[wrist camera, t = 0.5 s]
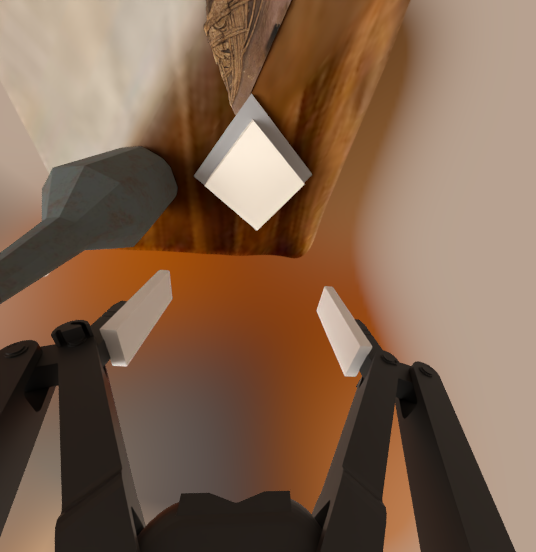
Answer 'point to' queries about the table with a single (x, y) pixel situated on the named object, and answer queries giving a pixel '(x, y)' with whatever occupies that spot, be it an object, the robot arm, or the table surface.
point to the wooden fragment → (242, 40)
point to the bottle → (89, 212)
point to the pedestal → (253, 166)
